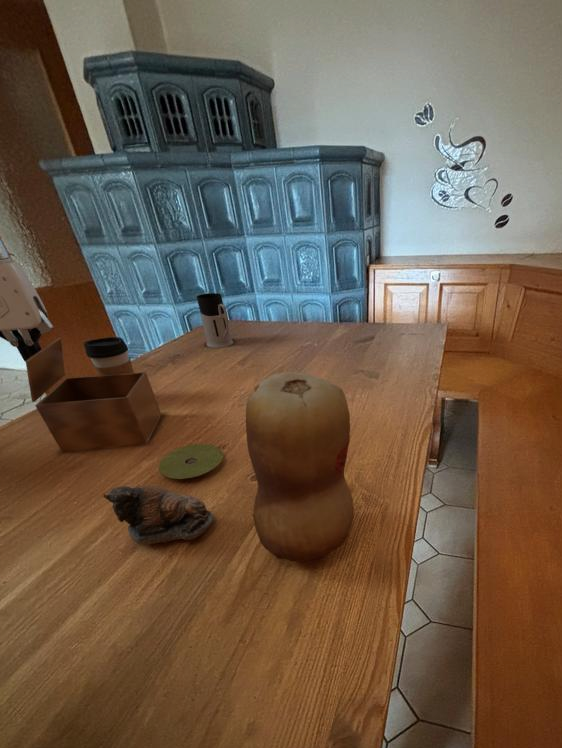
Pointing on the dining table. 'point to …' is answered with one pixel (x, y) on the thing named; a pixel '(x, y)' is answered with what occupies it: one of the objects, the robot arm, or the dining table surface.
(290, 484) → the butternut squash
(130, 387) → the carton
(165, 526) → the bison figurine
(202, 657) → the dining table surface
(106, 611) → the dining table surface
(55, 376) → the carton flap
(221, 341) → the glass holder
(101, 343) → the coffee cup
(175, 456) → the mat
